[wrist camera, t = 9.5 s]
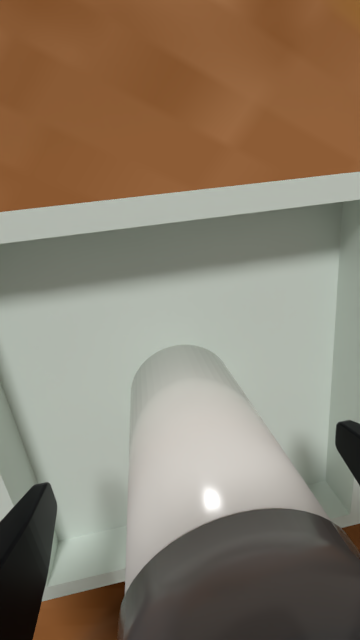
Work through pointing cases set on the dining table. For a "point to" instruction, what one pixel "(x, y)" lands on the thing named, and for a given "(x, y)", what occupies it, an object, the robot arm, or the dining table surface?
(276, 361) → the tray
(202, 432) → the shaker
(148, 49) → the dining table surface
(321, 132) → the dining table surface
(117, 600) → the dining table surface
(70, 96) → the dining table surface
